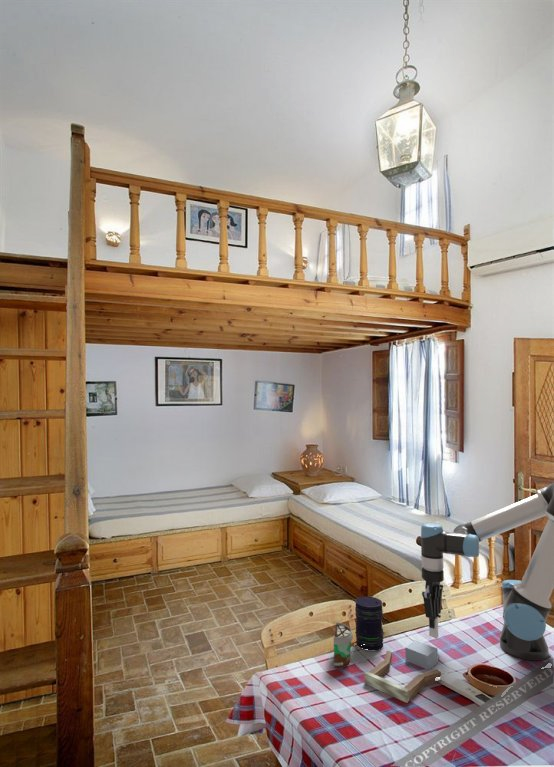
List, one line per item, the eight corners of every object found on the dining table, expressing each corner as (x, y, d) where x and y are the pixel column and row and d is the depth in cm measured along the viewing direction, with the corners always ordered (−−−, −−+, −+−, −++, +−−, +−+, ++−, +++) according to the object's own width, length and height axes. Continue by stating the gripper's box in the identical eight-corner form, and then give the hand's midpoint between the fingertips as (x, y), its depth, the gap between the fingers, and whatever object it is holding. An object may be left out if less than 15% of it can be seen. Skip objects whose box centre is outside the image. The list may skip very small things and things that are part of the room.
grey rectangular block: (437, 662, 146) (437, 648, 147) (428, 670, 141) (427, 656, 142) (415, 653, 152) (415, 640, 152) (405, 661, 147) (405, 647, 148)
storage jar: (353, 648, 156) (352, 604, 157) (358, 636, 165) (357, 594, 166) (381, 653, 152) (380, 608, 153) (385, 640, 161) (384, 598, 162)
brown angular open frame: (441, 679, 136) (441, 669, 136) (414, 706, 123) (414, 695, 123) (387, 657, 149) (387, 648, 149) (357, 680, 135) (357, 670, 136)
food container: (353, 672, 140) (352, 639, 141) (334, 670, 141) (333, 637, 142) (354, 653, 152) (353, 623, 153) (336, 651, 153) (336, 621, 154)
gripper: (430, 561, 165) (431, 627, 163) (414, 569, 155) (415, 639, 153) (449, 566, 160) (451, 633, 157) (434, 575, 150) (436, 646, 148)
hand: (433, 636), depth 155 cm, fingers closed
